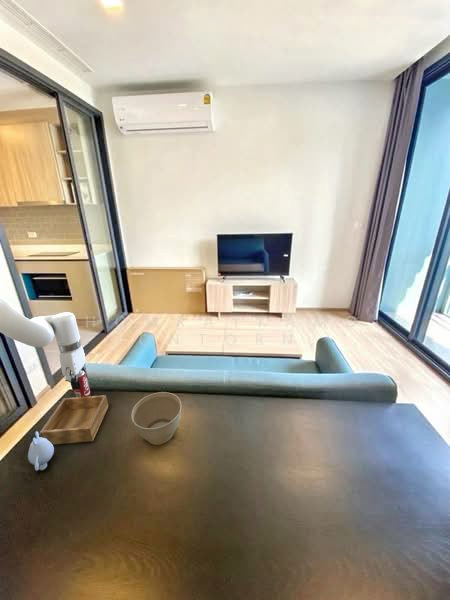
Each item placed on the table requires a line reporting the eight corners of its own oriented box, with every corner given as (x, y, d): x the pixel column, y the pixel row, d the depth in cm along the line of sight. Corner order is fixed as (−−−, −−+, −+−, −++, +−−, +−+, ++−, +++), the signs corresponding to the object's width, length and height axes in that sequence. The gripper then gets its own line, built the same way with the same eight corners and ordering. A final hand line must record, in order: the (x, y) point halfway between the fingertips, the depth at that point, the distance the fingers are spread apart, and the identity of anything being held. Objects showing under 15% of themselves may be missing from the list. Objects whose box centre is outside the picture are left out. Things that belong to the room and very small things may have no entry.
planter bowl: (186, 414, 94) (184, 391, 91) (180, 453, 79) (177, 427, 75) (143, 415, 94) (139, 392, 90) (129, 455, 79) (124, 429, 75)
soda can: (86, 390, 106) (81, 367, 102) (93, 395, 104) (87, 371, 99) (74, 398, 102) (67, 373, 98) (80, 403, 100) (73, 378, 95)
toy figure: (38, 452, 80) (27, 424, 76) (60, 446, 82) (51, 418, 78) (27, 485, 71) (14, 454, 67) (53, 476, 73) (42, 447, 69)
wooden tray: (44, 445, 83) (39, 432, 81) (67, 409, 97) (63, 398, 95) (92, 440, 84) (89, 428, 82) (108, 406, 98) (106, 395, 96)
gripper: (70, 334, 102) (80, 371, 108) (46, 358, 86) (59, 399, 92) (89, 333, 103) (97, 370, 109) (69, 356, 87) (80, 398, 93)
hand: (80, 383), depth 101 cm, fingers closed on soda can, 5 cm apart
